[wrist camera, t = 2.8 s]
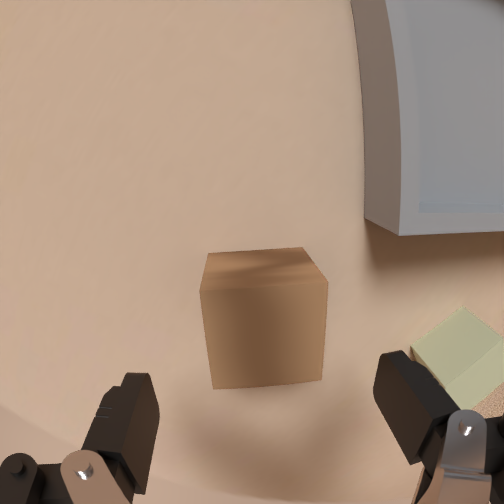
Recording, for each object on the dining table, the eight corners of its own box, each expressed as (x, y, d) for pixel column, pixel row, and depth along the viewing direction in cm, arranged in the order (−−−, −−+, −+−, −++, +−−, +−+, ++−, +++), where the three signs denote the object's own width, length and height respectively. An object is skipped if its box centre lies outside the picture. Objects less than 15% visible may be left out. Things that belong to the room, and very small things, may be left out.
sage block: (462, 305, 19) (503, 337, 14) (470, 347, 20) (504, 380, 16) (409, 344, 20) (444, 386, 15) (424, 383, 21) (453, 422, 16)
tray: (530, 7, 12) (558, -1, 8) (551, 216, 18) (583, 228, 14) (334, -75, 11) (352, -108, 7) (364, 217, 17) (398, 235, 13)
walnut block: (302, 246, 17) (328, 281, 12) (301, 327, 18) (321, 379, 14) (208, 252, 17) (199, 290, 12) (216, 334, 18) (213, 389, 13)
